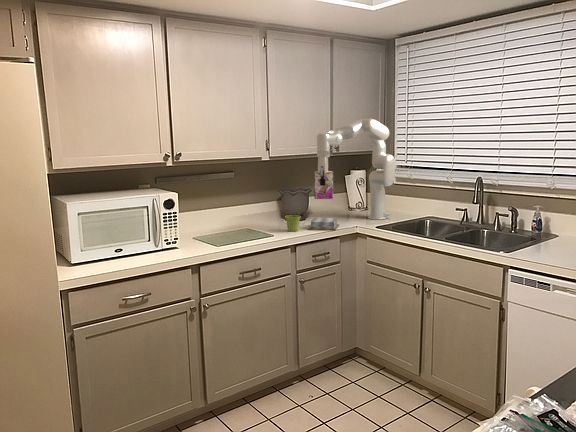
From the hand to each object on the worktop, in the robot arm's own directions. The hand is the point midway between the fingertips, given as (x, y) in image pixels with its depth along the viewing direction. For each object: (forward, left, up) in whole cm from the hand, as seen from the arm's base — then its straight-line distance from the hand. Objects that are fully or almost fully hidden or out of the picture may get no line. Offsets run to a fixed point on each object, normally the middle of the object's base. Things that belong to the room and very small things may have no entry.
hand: (323, 184), depth 292 cm
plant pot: (+17, +11, -27) cm, 33 cm away
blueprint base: (0, 0, -26) cm, 26 cm away
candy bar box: (0, 0, -9) cm, 9 cm away
